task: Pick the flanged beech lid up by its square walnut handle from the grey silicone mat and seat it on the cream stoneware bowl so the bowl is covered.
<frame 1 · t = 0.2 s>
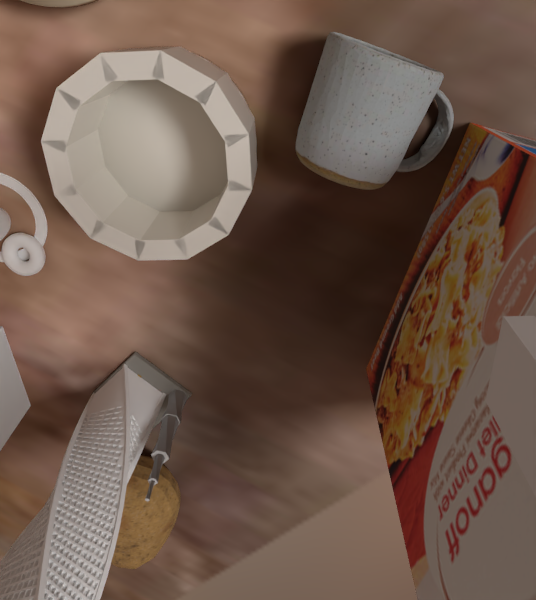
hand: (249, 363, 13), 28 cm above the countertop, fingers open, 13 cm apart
ceramic mug: (373, 107, 36), on the countertop
bowl: (170, 143, 38), on the countertop
pasta box: (455, 271, 42), on the countertop
potato: (143, 476, 56), on the countertop
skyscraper: (133, 392, 50), on the countertop
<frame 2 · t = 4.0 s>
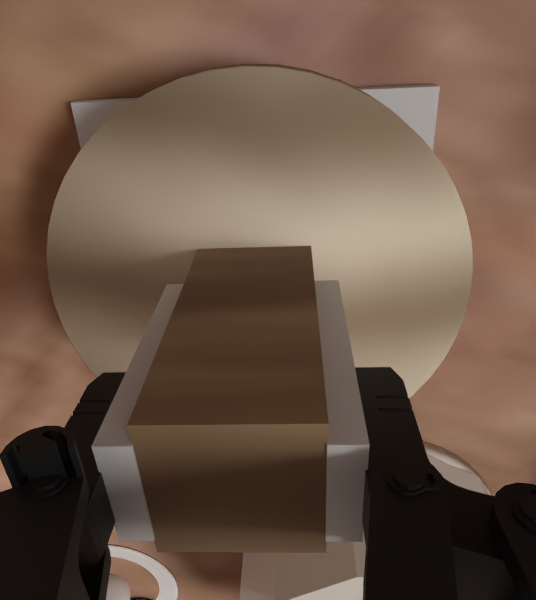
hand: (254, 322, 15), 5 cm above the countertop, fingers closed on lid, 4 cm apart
bowl: (369, 524, 27), on the countertop
mat: (261, 256, 20), on the countertop
cup and donut ornament: (98, 598, 33), on the countertop
lid: (261, 263, 19), point 1 cm above the countertop, touching gripper, mat
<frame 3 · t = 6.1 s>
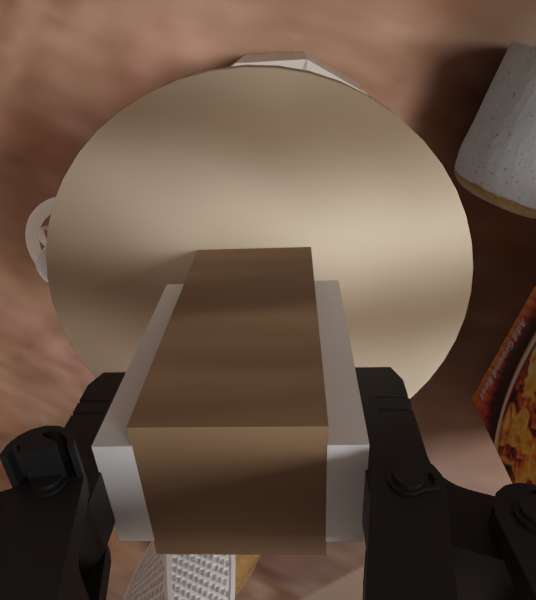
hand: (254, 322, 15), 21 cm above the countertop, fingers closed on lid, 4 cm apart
ceramic mug: (534, 123, 32), on the countertop, touching pasta box
bowl: (279, 159, 34), on the countertop
cup and donut ornament: (69, 273, 40), on the countertop
lid: (261, 264, 19), point 17 cm above the countertop, touching gripper
potato: (217, 508, 52), on the countertop
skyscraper: (215, 423, 46), on the countertop
when the fingers open (11 cm above the countertop, at t = 8.5 s): lid drops 1 cm, resting on bowl.
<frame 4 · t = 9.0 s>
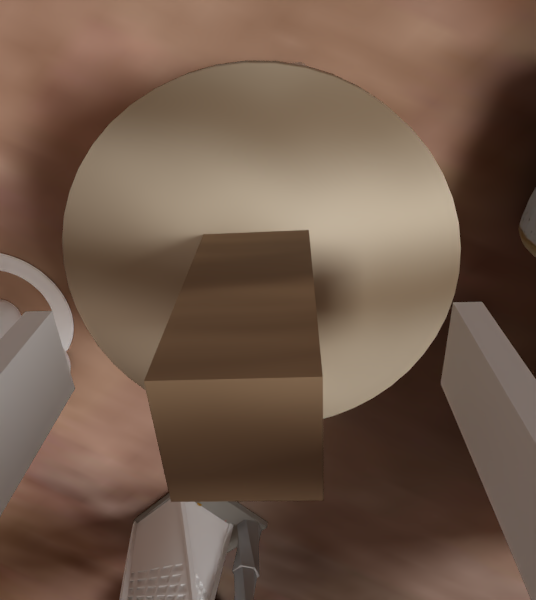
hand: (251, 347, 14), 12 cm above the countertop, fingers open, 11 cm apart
lid: (262, 249, 20), point 5 cm above the countertop, touching bowl
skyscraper: (188, 519, 37), on the countertop
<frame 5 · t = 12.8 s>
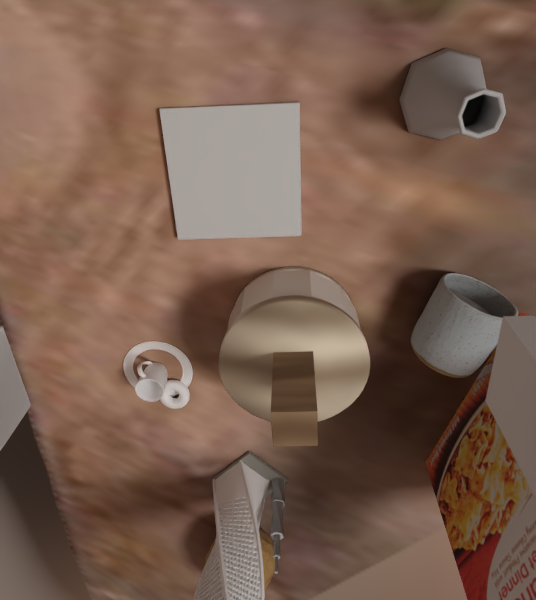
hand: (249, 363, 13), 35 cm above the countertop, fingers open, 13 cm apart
ceramic mug: (461, 308, 52), on the countertop
bowl: (293, 321, 53), on the countertop
mat: (235, 174, 46), on the countertop
cup and donut ornament: (148, 384, 59), on the countertop
flask: (441, 95, 42), on the countertop
lid: (293, 351, 49), point 5 cm above the countertop, touching bowl
pasta box: (498, 401, 58), on the countertop
potato: (242, 536, 71), on the countertop
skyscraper: (243, 477, 66), on the countertop
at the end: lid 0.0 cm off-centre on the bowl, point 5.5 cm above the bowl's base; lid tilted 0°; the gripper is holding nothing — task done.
